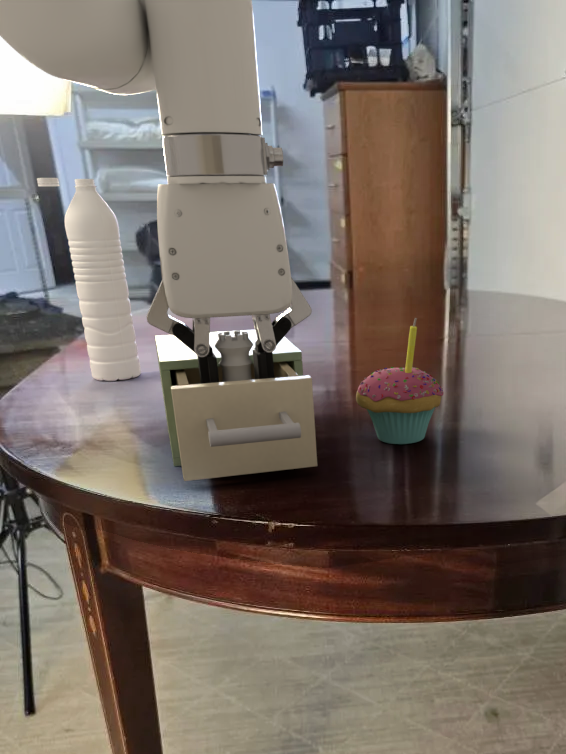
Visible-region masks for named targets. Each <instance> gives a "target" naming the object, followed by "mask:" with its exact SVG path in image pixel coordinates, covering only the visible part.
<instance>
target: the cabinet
mask: <svg viewBox="0 0 566 754" xmlns="http://www.w3.org/2000/svg"><path fill="white" fill-rule="evenodd" d="M228 331H229V332H230V335H232V336H235V335H234V331H235V330H228ZM239 331H240V334H242V332H243V331H246V332H247V333H248V338H249V339H250V340H251V342H252V343H253V344H254V345H253V346H252V348H251V350H250V351H249V358H250V360H251V361H252V364H254V362H253V350H255V349H254V347H255V342H256V341H257V337H256V332H255V329H244V330H243V329H241V330H239ZM223 332H226V330H225V331H210V345H211V347H212V349H213V353H214V354H215V356H216V358H217V366H220V365H219V363H220V361H221V354H220V352H219V351H218V350H217V349H216V348H215V346H214V345H215V344H216V342H217V340H218V333H223ZM223 335H224V333H223ZM154 342H155V349H156V356H157V362H158V370H159V376H160V377H159V378H160V384H161V390H162V391H161V392H162V397H163V398H162V399H163V406H164V412H165V419H166V426H167V433H168V438H169V444H170V445H169V446H170V449H171V457H172V464H173V467H180V466H181V467H182V465H181V458H180V451H179V443H178V436H177V429H176V422H175V414H174V407H173V400H172V393H171V386H176V381H175V373H174V370H177V369H190V368H199V365H198V357H197V355H196V354H195V353H194V352H193V351H192V350H191V349H190V348H188V347H187V346H186V345H185V344H183V343H182V342H181V341H180V340H179V339H177V338H176V337H175V336H173V335H171V334H161V335H154ZM273 362H286V363H287V364H288V365H289V366H290V367H291V368H292V369H293V370H294V371H295V372H296V374H297V375H298V376H304V367H303V366H304V365H303V352H302V351H301V350H300V349H299V348H298V347H297V346H295V344H293V342H291V341H290V340H289V339H288V338H287V337H286V336H284V337H283V339H282V340H281V341H280V342H279V343H278V345H277V346H276V349H275V350H274V351H273Z"/></svg>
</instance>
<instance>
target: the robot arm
mask: <svg viewBox="0 0 566 754" xmlns="http://www.w3.org/2000/svg"><path fill="white" fill-rule="evenodd" d="M0 38H2V39H3V40H4V41H5V42H6V43H7V44H8V45H9V46H10V47H11V48H12V49H13V50H14V51H15V52H16V53H18V54H19V55H20V56H21V57H22V58H24V59H25V60H26V61H28V62H29V63H30V64H32V65H33V66H34V67H36V68H38V69H40V70H41V71H43V72H45V73H46V74H47V75H50V76H52V77H55V78H58V79H61V80H64V81H68V82H72V83H75V84H79V85H82V86H86V87H89V88H91V89H93V90H97V91H101V92H104V93H108V94H113V95H117V96H118V95H119V96H128V95H130V96H131V95H138V94H143V93H149V92H152V91H153V92H154V91H155V93H156V99H157V109H158V115H159V125H160V131H161V136H162V140H161V141H162V148H163V156H164V164H165V171H166V180H167V183H164V184H163V183H162V184H158V185H157V194H156V195H157V196H156V197H157V198H156V222H157V223H156V224H157V238H158V240H157V241H158V251H159V252H158V253H159V263H160V273H161V282H160V284H159V286H158V288H157V291H156V293H155V295H154V297H153V299H152V301H151V304H150V306H149V309H148V311H147V313H146V322H147V323H148V325H150V326H152V327H154V328H156V329H158V330H160V331H162V332H164V333H166V334H168V335H173V336H175V337H176V338H177V339H179V340H180V341H181V342H182V343H183V344H185V345H186V346H187V347H188V348H190V349H191V350H192V351H193V352H194V353H195V354H196V355H197V357H198V365H199V374H200V382H201V384H204V383H217V382H219V375H218V366H217V358H216V356H215V354H214V353H213V349H212V347H211V345H210V332H211V318H230V317H245V316H246V317H247V316H251V319H252V323H253V327H254V330H255V332H256V337H257V341H256V342H255V347H254V349H255V350H253V362H254V373H255V379H267V378H275V377H274V365H273V351H274V350H275V349H276V346H277V345H278V343H279V342H280V341H281V340H282V339H283V337H286V336H287V334H288V333H289V332H290V331H291V329H293V328H294V327H295V326H297V325H299V324H300V323H302V322H303V321H305V320H306V319H307V318H308V317H310V316H311V315H312V312H313V311H312V310H313V309H312V307H311V305H310V303H309V302H308V300H307V299H306V297H305V296H304V295H303V292H302V291H301V290H300V288H299V286H298V285H297V283H296V282H295V280H294V279H293V277H292V274H291V273H292V271H291V266H290V265H291V264H290V258H289V250H288V244H287V237H286V230H285V225H284V218H283V213H282V208H281V204H280V201H279V197H278V196H279V195H278V192H277V188H276V185H275V183H274V182H273V183H271V182H269V183H268V182H267V175H268V172H269V171H270V169H274V167H283V166H284V151H283V148H282V147H273V145H269V144H268V142H266V139H265V137H264V135H263V134H264V133H263V124H262V123H263V122H262V112H261V111H262V110H261V97H260V83H259V82H260V81H259V69H258V59H257V58H258V57H257V56H258V55H257V44H256V31H255V17H254V8H253V0H0ZM168 310H170V312H171V313H172V314H174V315H176V316H178V317H181V318H184V319H185V318H186V319H192V323H191V327H189V326H188V325H187V324H186V323H185V322H183V321H181V320H178V319H176V318H175V317H174V316H173V317H172V316H171V315H170V314H168ZM281 312H283V313H281ZM279 313H281V314H280V315H276V317H275V318H274V319H273V321H272V318H271V315H274V314H279Z"/></svg>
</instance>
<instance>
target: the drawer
mask: <svg viewBox="0 0 566 754" xmlns="http://www.w3.org/2000/svg"><path fill="white" fill-rule="evenodd" d="M273 365H274V377H275V378H267V379H255V373H254V364H251V375H252V380H242V381H229V382H223V373H222V367H221V366H218V375H219V382H217V383H204V384H201V382H200V374H199V368H190V369H177V370H174V373H175V381H176V386H171V393H172V400H173V407H174V414H175V422H176V429H177V436H178V443H179V451H180V458H181V465H182V466H181V472H182V477H183V482H189V481H198V480H207V479H218V478H226V477H235V476H244V475H252V474H260V473H261V474H262V473H269V472H279V471H286V470H294V469H295V470H296V469H305V468H313V467H314V468H315V467H318V456H317V455H318V454H317V453H318V452H317V439H316V423H315V422H316V421H315V405H314V391H313V389H314V387H313V377H311V375H310V374H307V375H304V374H303V376H298V375H297V374H296V372H295V371H294V370H293V369H292V368H291V367H290V366H289V365H288V364H287V363H286V362H273Z"/></svg>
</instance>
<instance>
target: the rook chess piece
mask: <svg viewBox="0 0 566 754" xmlns="http://www.w3.org/2000/svg"><path fill="white" fill-rule="evenodd" d="M225 331H226V330H225ZM229 331H230V330H227V331H226V332H224V331H222V332H223V333H224V335H223V333H218V340H217V342H216V344H215V345H214V346H215V348H216V349H217V350H218V351H219V352H220V354H221V361H220V363H219V365H220V366H221V367H222V373H223V382H229V381H242V380H252V375H251V364H252V361H251V360H250V358H249V351H250V350H251V348H252V346H253V345H254V344H253V343H252V342H251V340H250V339H249V338H248V333H247V332H246V331H243V332H242V334H240V330H233V331H234V335H235V336H232V335H230V332H229Z"/></svg>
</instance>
